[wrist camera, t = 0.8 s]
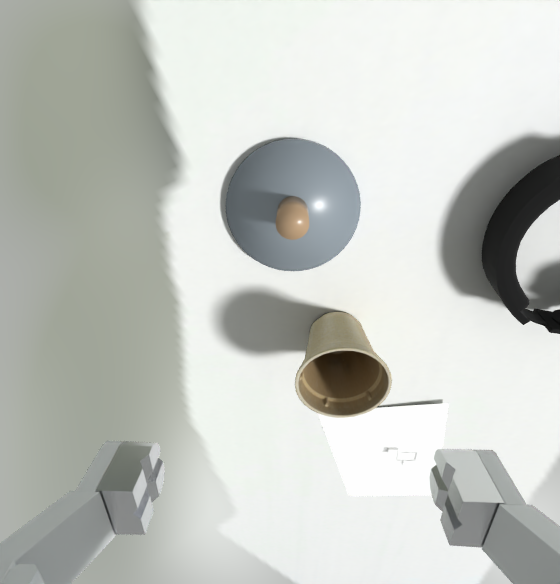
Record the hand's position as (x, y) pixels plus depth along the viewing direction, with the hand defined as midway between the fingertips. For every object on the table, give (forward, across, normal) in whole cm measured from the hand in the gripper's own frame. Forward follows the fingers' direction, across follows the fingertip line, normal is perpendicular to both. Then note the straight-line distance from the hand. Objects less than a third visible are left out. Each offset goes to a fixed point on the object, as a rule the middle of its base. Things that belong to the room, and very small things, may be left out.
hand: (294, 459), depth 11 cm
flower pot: (+30, -5, +14) cm, 33 cm away
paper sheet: (+32, -8, +37) cm, 50 cm away
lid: (+29, 0, -1) cm, 29 cm away
